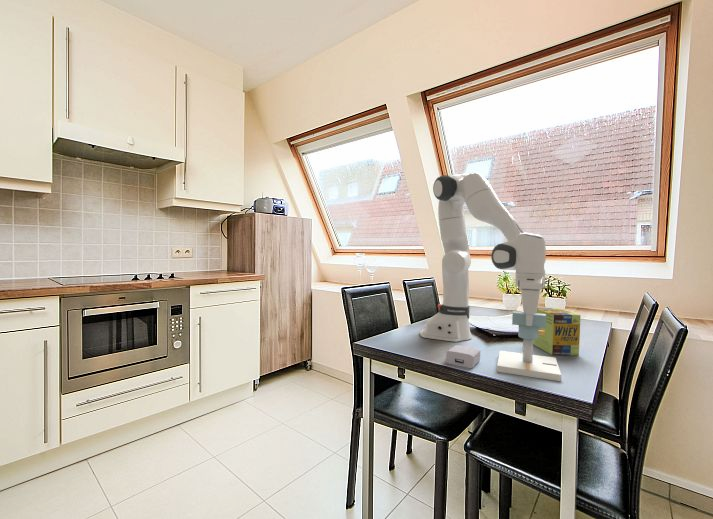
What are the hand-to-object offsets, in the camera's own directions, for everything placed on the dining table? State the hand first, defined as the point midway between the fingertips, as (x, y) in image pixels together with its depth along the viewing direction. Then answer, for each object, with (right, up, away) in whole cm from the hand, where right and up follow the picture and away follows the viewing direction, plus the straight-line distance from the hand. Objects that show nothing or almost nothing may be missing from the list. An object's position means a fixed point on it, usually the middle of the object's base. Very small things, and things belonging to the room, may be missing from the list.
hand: (528, 322), depth 116 cm
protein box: (+21, -15, +22) cm, 34 cm away
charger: (-19, -15, +8) cm, 25 cm away
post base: (0, -15, +1) cm, 15 cm away
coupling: (0, -5, 0) cm, 5 cm away
